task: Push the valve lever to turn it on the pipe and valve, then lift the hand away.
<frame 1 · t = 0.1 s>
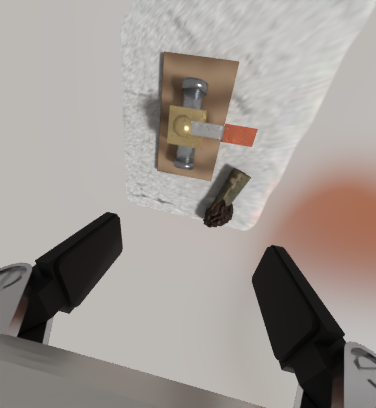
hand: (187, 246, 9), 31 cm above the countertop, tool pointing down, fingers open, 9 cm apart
mounting board: (191, 126, 33), on the countertop
olive brown elongated lump: (224, 198, 40), on the countertop
valve lever: (212, 131, 24), point 11 cm above the countertop, hinge at 0.0°
pipe and valve: (191, 131, 34), resting on mounting board
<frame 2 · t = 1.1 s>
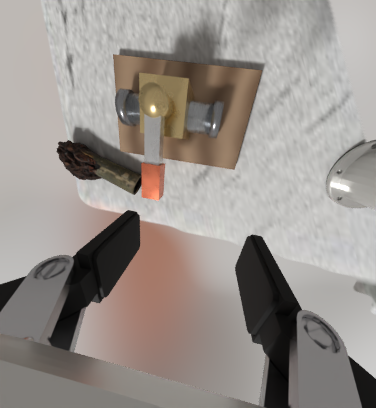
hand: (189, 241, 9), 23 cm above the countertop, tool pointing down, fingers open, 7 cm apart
mounting board: (181, 118, 26), on the countertop
olive brown elongated lump: (108, 168, 33), on the countertop
valve lever: (155, 149, 19), point 11 cm above the countertop, hinge at 0.0°
pipe and valve: (176, 118, 26), resting on mounting board
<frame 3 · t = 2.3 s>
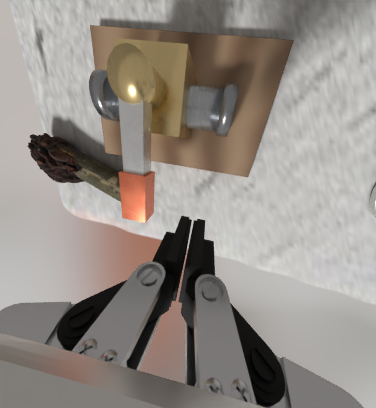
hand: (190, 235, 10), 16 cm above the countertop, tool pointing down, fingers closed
mounting board: (180, 111, 20), on the countertop
olive brown elongated lump: (95, 168, 27), on the countertop
valve lever: (140, 152, 13), point 11 cm above the countertop, hinge at 0.0°
pipe and valve: (173, 110, 20), resting on mounting board
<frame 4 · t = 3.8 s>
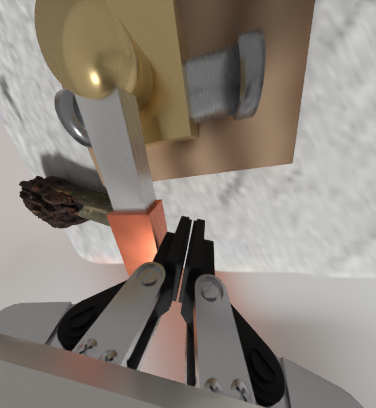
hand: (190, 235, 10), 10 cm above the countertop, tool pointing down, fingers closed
mounting board: (176, 109, 16), on the countertop
olive brown elongated lump: (100, 201, 23), on the countertop
valve lever: (134, 176, 8), point 11 cm above the countertop, hinge at 4.3°, touching gripper
pipe and valve: (168, 111, 16), resting on mounting board
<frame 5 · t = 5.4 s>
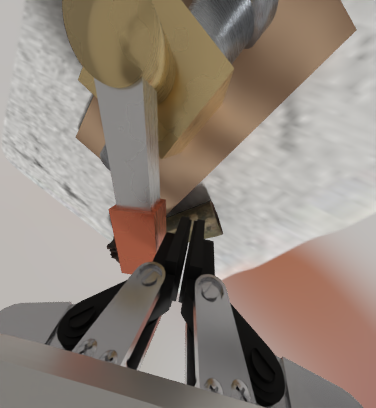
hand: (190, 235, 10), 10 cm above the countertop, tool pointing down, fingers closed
mounting board: (185, 100, 15), on the countertop
olive brown elongated lump: (167, 228, 23), on the countertop
valve lever: (141, 172, 8), point 11 cm above the countertop, hinge at 50.4°, touching gripper
pipe and valve: (179, 108, 15), resting on mounting board
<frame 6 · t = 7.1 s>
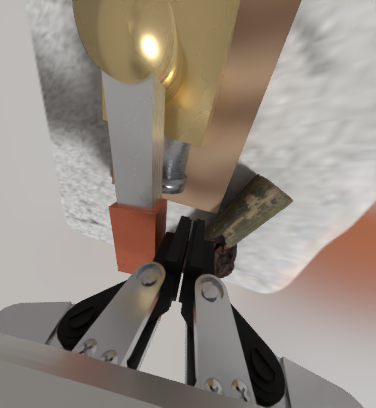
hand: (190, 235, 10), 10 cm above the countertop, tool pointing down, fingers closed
mounting board: (186, 96, 15), on the countertop
olive brown elongated lump: (223, 227, 21), on the countertop
valve lever: (144, 170, 8), point 11 cm above the countertop, hinge at 82.5°, touching gripper
pipe and valve: (184, 106, 15), resting on mounting board
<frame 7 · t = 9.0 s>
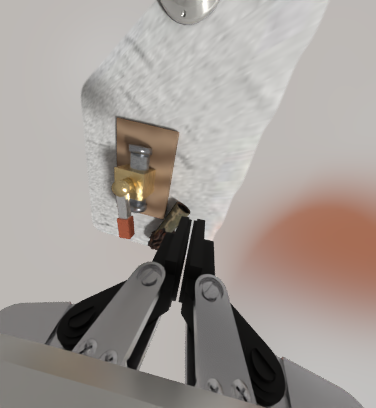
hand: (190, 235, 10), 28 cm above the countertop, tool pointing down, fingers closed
mounting board: (145, 173, 38), on the countertop
olive brown elongated lump: (170, 225, 44), on the countertop
valve lever: (125, 209, 31), point 11 cm above the countertop, hinge at 82.6°
pipe and valve: (145, 177, 38), resting on mounting board
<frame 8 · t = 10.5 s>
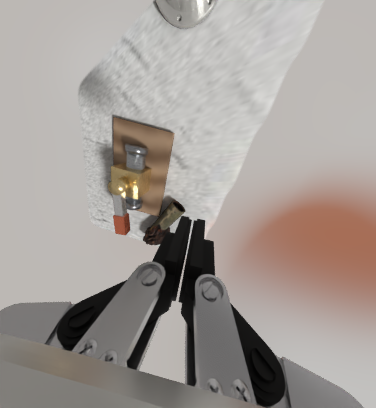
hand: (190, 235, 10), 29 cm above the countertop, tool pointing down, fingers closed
mounting board: (141, 172, 39), on the countertop
olive brown elongated lump: (166, 221, 45), on the countertop
valve lever: (121, 207, 32), point 11 cm above the countertop, hinge at 82.6°
pipe and valve: (141, 175, 40), resting on mounting board
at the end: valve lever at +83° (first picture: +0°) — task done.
